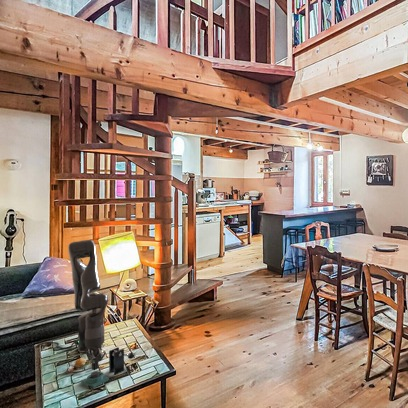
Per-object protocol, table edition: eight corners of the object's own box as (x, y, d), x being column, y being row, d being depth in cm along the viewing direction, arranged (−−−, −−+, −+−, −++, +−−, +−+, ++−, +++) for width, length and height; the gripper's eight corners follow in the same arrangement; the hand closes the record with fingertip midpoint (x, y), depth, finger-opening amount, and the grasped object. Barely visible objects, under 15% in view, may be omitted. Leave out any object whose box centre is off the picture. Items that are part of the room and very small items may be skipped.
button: (88, 377, 154) (88, 374, 154) (97, 373, 157) (97, 370, 157) (93, 379, 153) (93, 375, 153) (101, 375, 156) (101, 372, 156)
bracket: (118, 367, 169) (118, 344, 169) (130, 372, 165) (130, 348, 165) (102, 375, 162) (102, 351, 161) (114, 380, 158) (114, 355, 157)
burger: (101, 363, 173) (101, 350, 173) (83, 376, 161) (83, 361, 161) (80, 362, 173) (79, 349, 173) (60, 375, 161) (60, 360, 161)
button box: (81, 384, 154) (81, 377, 154) (96, 377, 160) (96, 369, 160) (93, 390, 150) (93, 382, 150) (109, 382, 157) (109, 374, 156)
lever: (130, 358, 171) (133, 352, 173) (134, 359, 170) (137, 353, 172) (110, 355, 162) (113, 349, 163) (114, 357, 161) (117, 350, 162)
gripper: (77, 335, 153) (78, 369, 154) (94, 341, 148) (94, 376, 149) (95, 329, 160) (95, 362, 161) (111, 334, 155) (111, 368, 156)
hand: (95, 369), depth 155 cm, fingers closed
